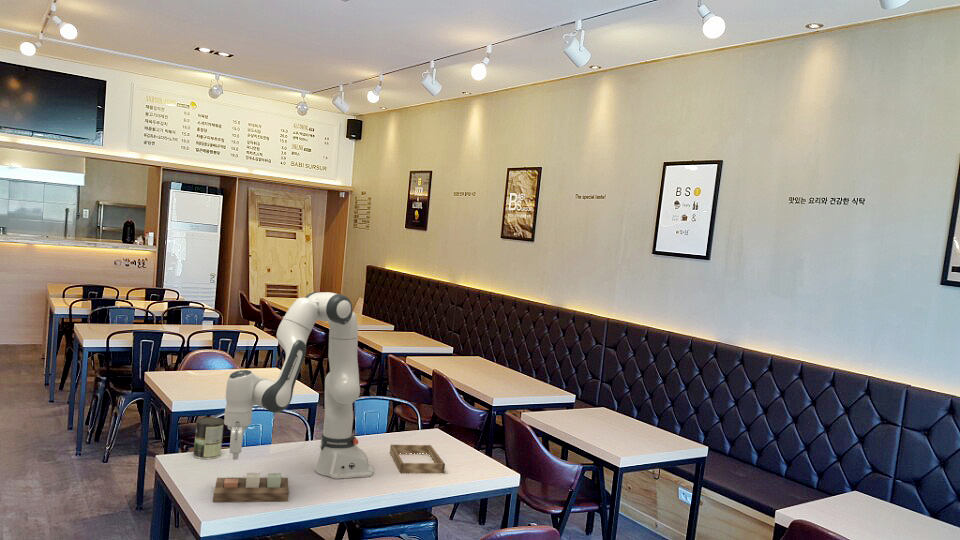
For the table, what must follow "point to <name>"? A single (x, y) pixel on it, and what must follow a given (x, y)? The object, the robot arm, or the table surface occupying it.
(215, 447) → the coffee can
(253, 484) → the cream cube
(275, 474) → the key sage
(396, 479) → the table surface
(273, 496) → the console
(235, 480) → the key terracotta
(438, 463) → the frame
